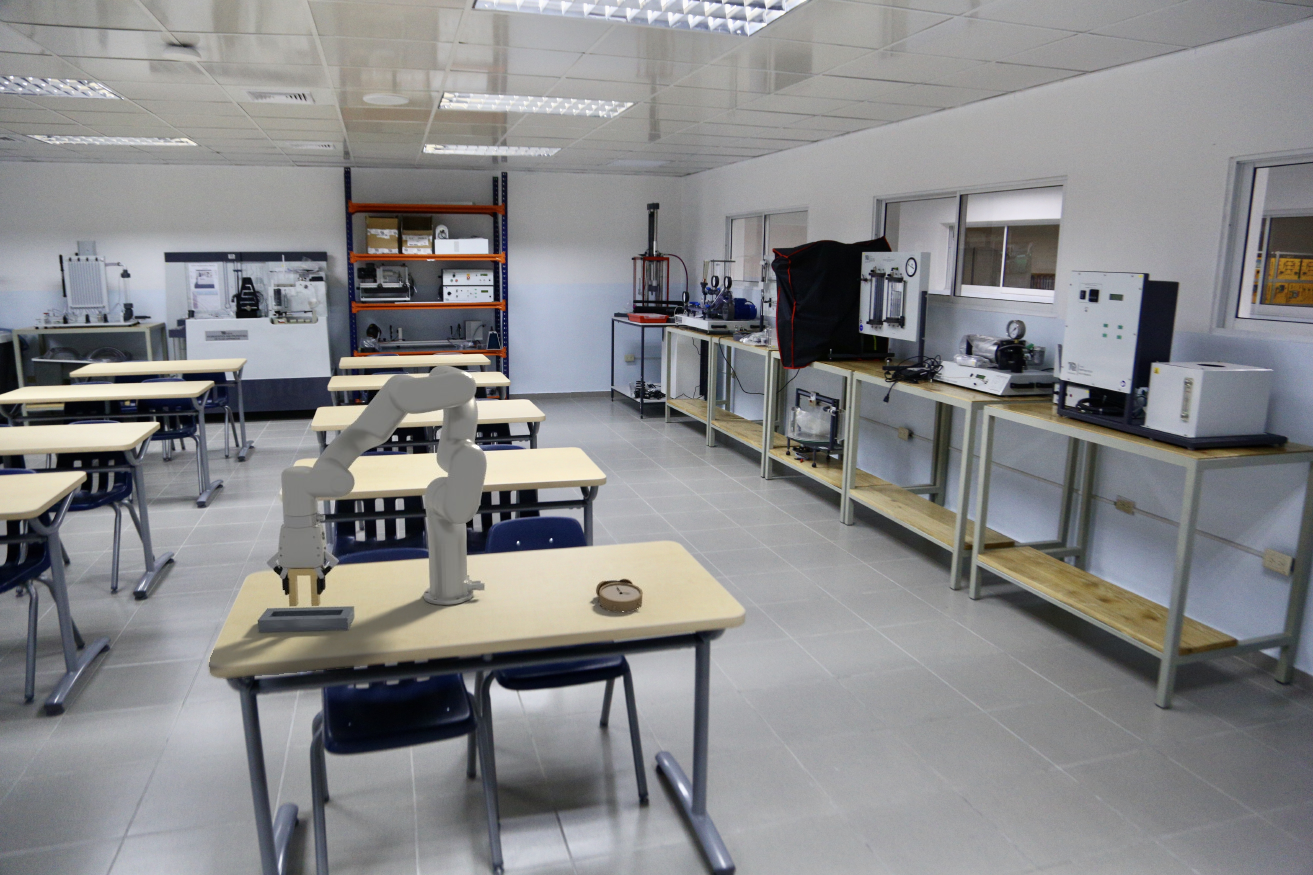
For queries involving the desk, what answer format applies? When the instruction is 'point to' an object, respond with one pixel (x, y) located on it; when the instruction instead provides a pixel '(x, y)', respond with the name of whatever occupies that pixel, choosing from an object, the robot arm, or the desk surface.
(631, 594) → the alarm clock
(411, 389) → the robot arm
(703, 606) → the desk surface
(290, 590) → the wooden u-shaped block
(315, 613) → the rail
